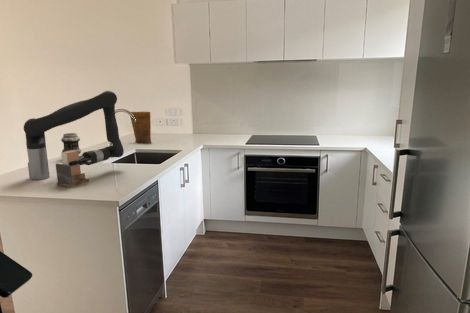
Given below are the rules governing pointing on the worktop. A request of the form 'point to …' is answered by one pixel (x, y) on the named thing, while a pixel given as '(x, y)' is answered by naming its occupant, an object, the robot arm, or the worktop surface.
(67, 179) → the rack
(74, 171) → the salmon pink rectangular block
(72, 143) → the dark grey pedestal urn
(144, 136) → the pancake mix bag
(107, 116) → the robot arm
